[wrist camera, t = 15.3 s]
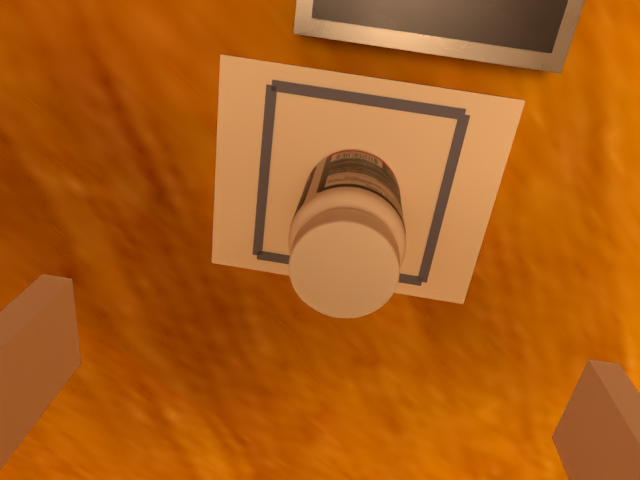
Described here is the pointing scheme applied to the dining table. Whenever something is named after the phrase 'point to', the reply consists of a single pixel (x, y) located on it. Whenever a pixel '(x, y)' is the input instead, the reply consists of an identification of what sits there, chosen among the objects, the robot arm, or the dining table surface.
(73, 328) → the robot arm
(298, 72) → the print card
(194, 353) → the dining table surface
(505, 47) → the ink pad
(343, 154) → the pill bottle
